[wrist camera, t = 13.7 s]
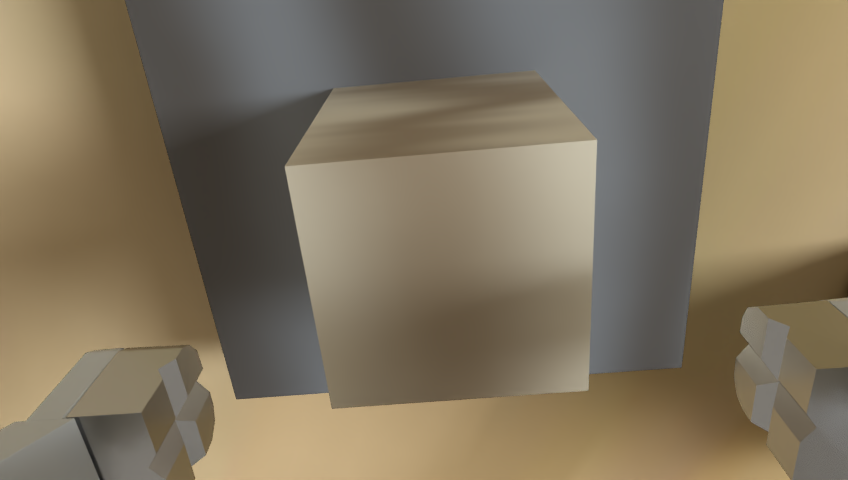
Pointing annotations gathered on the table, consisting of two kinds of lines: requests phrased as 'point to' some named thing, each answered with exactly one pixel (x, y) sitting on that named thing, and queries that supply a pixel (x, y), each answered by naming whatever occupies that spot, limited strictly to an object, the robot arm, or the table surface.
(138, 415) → the robot arm
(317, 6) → the riser block
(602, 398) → the table surface
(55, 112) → the table surface
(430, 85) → the ash block
